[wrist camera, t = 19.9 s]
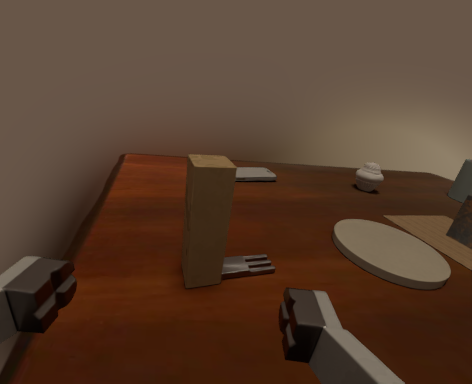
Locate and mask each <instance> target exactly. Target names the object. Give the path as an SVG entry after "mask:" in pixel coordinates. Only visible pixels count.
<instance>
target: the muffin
mask: <svg viewBox="0 0 472 384" xmlns="http://www.w3.org/2000/svg"><path fill="white" fill-rule="evenodd" d="M380 170H381V167H380V166H379V165H378V164H375V163H366V164H365V166H364V167H363V168H361V169H359V170H358V171H356V183H357V187H358V188H359V189H360V190H363V191H368V192H371V191H372V190H373V189H375V188H376V187H377V186H378V185H379V184H380V183H381V182H382V181H383V179H384V178H383V175H382V174H381V171H380Z"/></svg>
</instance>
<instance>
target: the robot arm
mask: <svg viewBox="0 0 472 384" xmlns="http://www.w3.org/2000/svg"><path fill="white" fill-rule="evenodd" d="M74 270H75V269H74V264H73V262H71V261H66V260H59V259H51V258H45V257H43V258H42V257H36V256H27V257H24V258H22V259H21V260H20V261H18V262H17V263H16V264H14V265H13V266H12V267H10V268H9V269H7V270H6V271H5V272H3V273H2V274H1V275H0V343H2V342H3V341H5V340H6V339H8V338H10V337H11V336H13V335H14V334H16V333H17V331H21V332H33V333H44V332H45V331H46V330H47V329H48V328H49V326H50V325H51V324H52V323H53V322H54V320H55V319H56V318H57V317H58V310H59V309H61V308H63V307H65V306H67V305H68V303H69V302H70V301H71V300H72V298H73V296H74V294H75V292H76V287H77V281H76V278H75V277H74V276H73V275H72V272H73V271H74ZM283 296H284V301H283V302H282V303H281V305H280V309H279V327H280V331H281V332H282V333H283V334H284V336H283V339H282V345H283V351H284V356H285V360H290V361H297V362H304V363H309V366H310V367H311V369H312V370H313V372H314V373H315V375H316V376H317V377H318V379H319V380H320V382H321V383H322V384H405V383H404V382H403V381H402V380H401V379H400V378H398V377H397V376H396V375H395V374H394V373H393V372H392V371H391V370H390V369H389V368H388V367H387V366H385V365H384V364H383V363H382V362H381V361H380V360H379V359H378V358H377V357H376V356H375V355H373V354H372V353H371V352H370V351H369V350H368V349H367V348H366V347H365V346H364V345H363V344H362V343H360V342H359V341H358V340H357V339H356V338H355V337H354V336H353V335H352V334H351V333H350V332H348V331H347V330H343V329H342V326H341V324H340V322H339V320H338V317H337V315H336V313H335V311H334V309H333V306H332V304H331V302H330V300H329V297H328V295H327V293H326V292H325V291H315V290H305V289H296V288H287V287H286V289H285V291H284V294H283Z"/></svg>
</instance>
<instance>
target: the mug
mask: <svg viewBox="0 0 472 384" xmlns="http://www.w3.org/2000/svg"><path fill="white" fill-rule="evenodd" d="M447 195H448V196H449V197H450V198H452V199H454V200H457V201H459V202H462V203H464V201H465V200H466V198H467V196H468V195H472V160H470V159H466V160H465V162H464V164H463V166H462V168H461V170H460V172H459V174H458V175H457V177H456V179H455V181H454V183H453V185H452V187H451V189H450V191H449V193H448V194H447Z"/></svg>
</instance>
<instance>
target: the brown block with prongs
mask: <svg viewBox="0 0 472 384" xmlns="http://www.w3.org/2000/svg"><path fill="white" fill-rule="evenodd" d="M236 171H237V167H236V166H235V165H234V164H233V163H232V162H231V161H230V160H228V159H227V158H226V157H225V156H212V155H192V154H189V155H188V160H187V177H186V194H185V211H184V228H183V245H182V262H181V266H182V271H183V276H184V282H185V287H186V289H187V288H194V287H201V286H207V285H214V284H220V283H221V280H222V279H229V278H236V277H243V276H249V275H250V276H253V275H260V274H267V273H274V272H275V267H274V266H271V261H270V260H267V255H266V254H262V255H253V256H244V257H243V256H234V257H225V258H224V255H225V248H226V241H227V234H228V227H229V220H230V213H231V206H232V199H233V192H234V185H235V178H236Z"/></svg>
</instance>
